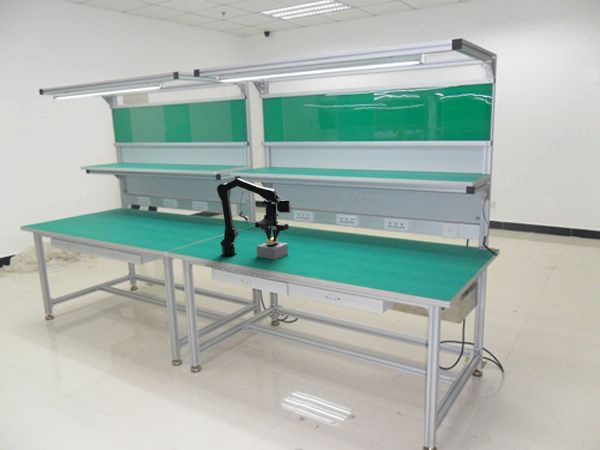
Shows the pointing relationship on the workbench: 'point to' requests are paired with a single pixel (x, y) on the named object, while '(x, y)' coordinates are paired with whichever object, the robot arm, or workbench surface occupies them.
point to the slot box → (272, 250)
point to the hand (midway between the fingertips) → (272, 241)
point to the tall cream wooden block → (271, 241)
